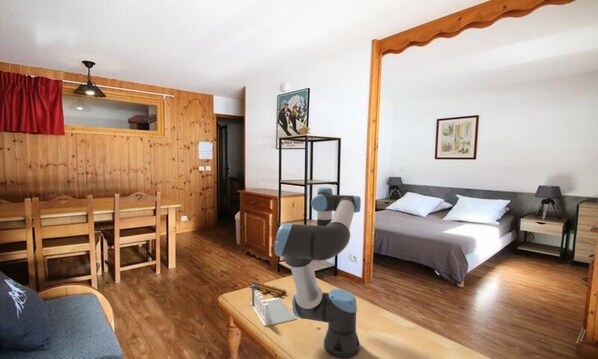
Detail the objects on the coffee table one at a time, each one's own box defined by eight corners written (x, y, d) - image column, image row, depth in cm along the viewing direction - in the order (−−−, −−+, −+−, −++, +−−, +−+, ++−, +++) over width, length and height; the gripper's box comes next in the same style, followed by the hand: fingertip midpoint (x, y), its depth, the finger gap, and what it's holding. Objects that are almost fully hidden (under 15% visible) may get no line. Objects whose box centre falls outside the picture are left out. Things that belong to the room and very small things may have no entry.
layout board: (296, 319, 149) (296, 318, 149) (264, 326, 142) (264, 326, 142) (278, 297, 171) (278, 296, 171) (249, 303, 164) (249, 302, 164)
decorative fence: (277, 298, 169) (288, 292, 178) (277, 295, 169) (288, 289, 177) (245, 288, 183) (256, 282, 191) (245, 284, 183) (256, 279, 191)
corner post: (258, 306, 161) (258, 285, 160) (252, 307, 160) (252, 286, 159) (256, 303, 164) (256, 283, 163) (250, 304, 163) (250, 284, 162)
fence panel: (254, 305, 159) (254, 289, 159) (257, 305, 160) (257, 289, 159) (265, 323, 143) (265, 305, 143) (268, 322, 144) (268, 304, 143)
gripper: (325, 215, 158) (324, 259, 160) (310, 219, 148) (309, 265, 150) (337, 217, 153) (336, 262, 155) (323, 221, 143) (322, 269, 145)
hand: (323, 263), depth 152 cm, fingers closed
